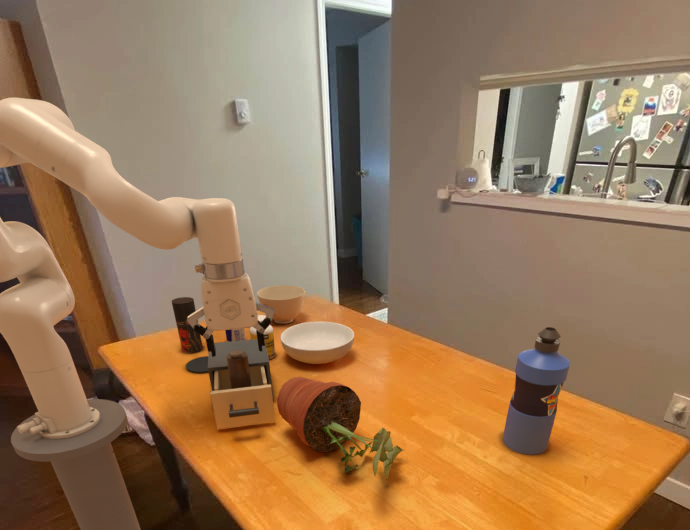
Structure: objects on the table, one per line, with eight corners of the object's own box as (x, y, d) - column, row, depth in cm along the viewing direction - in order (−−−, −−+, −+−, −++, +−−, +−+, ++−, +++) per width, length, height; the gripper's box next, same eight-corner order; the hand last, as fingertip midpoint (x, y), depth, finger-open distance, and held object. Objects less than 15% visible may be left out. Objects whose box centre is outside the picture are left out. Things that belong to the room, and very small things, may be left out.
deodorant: (206, 349, 138) (197, 300, 130) (188, 355, 134) (177, 305, 126) (196, 344, 141) (187, 295, 133) (178, 349, 138) (167, 300, 130)
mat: (202, 376, 122) (201, 374, 122) (178, 367, 127) (178, 365, 127) (231, 363, 129) (230, 361, 129) (207, 355, 134) (207, 353, 134)
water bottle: (556, 442, 97) (587, 329, 84) (534, 460, 91) (563, 343, 78) (516, 424, 102) (539, 316, 89) (493, 441, 97) (514, 328, 84)
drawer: (277, 432, 98) (273, 396, 94) (217, 440, 96) (210, 403, 91) (269, 393, 113) (265, 360, 108) (217, 399, 110) (211, 366, 105)
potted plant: (270, 443, 99) (382, 521, 75) (262, 377, 92) (383, 440, 68) (327, 422, 108) (444, 485, 84) (324, 360, 101) (450, 410, 78)
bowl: (315, 323, 157) (313, 294, 151) (271, 332, 149) (267, 302, 144) (295, 310, 168) (292, 282, 163) (253, 318, 161) (249, 289, 156)
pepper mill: (244, 414, 102) (235, 358, 95) (230, 408, 104) (221, 353, 97) (258, 406, 105) (251, 351, 98) (245, 400, 107) (237, 346, 100)
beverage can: (246, 339, 145) (239, 291, 137) (245, 346, 140) (238, 297, 132) (228, 340, 144) (220, 292, 136) (226, 347, 139) (218, 298, 131)
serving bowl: (268, 355, 134) (265, 333, 130) (324, 337, 146) (323, 316, 142) (311, 380, 121) (310, 355, 117) (369, 357, 133) (369, 335, 129)
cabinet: (273, 401, 111) (269, 361, 105) (215, 408, 108) (207, 368, 103) (268, 375, 123) (264, 338, 118) (215, 381, 120) (208, 343, 115)
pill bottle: (255, 362, 130) (250, 323, 124) (250, 354, 135) (245, 315, 129) (278, 358, 132) (274, 319, 126) (272, 350, 137) (268, 312, 131)
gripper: (175, 278, 84) (194, 363, 93) (271, 270, 87) (280, 354, 96) (178, 268, 90) (195, 349, 99) (267, 261, 93) (276, 340, 102)
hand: (237, 351), depth 98 cm, fingers open, 9 cm apart
